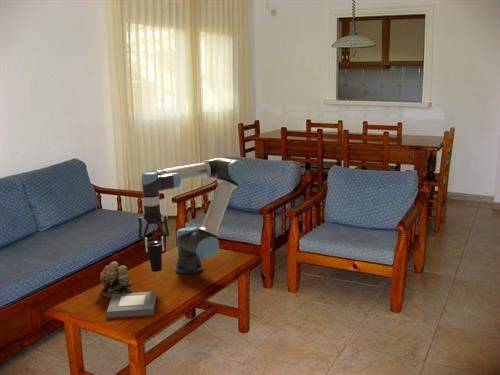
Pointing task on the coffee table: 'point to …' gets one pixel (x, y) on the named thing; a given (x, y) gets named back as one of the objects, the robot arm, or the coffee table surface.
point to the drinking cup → (155, 254)
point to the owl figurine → (115, 280)
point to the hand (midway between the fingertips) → (155, 250)
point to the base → (132, 304)
